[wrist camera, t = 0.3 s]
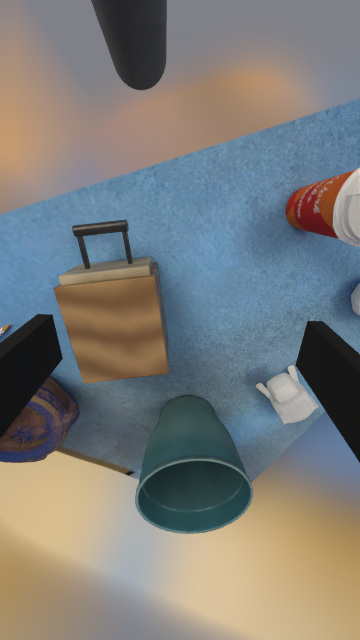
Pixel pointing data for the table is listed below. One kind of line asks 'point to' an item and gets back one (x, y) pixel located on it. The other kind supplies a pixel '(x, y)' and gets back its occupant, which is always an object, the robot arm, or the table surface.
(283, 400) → the white turtle figurine
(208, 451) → the flower pot
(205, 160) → the table surface
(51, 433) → the bowl
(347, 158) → the table surface
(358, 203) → the coffee cup
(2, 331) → the pencil
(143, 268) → the drawer
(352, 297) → the geometric ball
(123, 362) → the cabinet
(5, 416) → the robot arm
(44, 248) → the table surface
